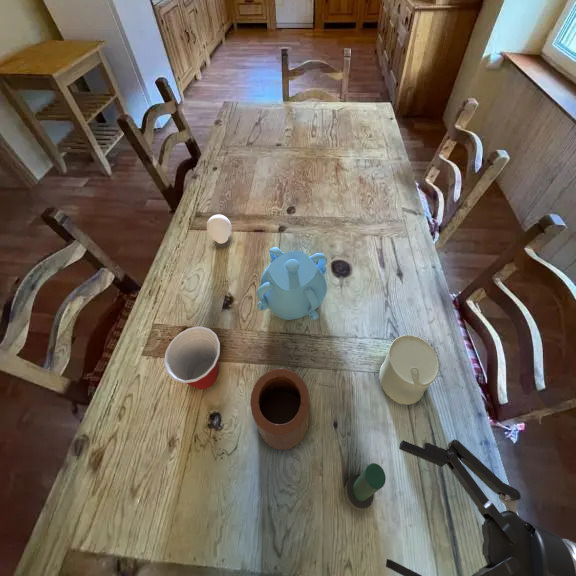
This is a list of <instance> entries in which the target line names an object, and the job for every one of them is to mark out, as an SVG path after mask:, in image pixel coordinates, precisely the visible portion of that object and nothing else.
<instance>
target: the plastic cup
mask: <svg viewBox="0 0 576 576" xmlns="http://www.w3.org/2000/svg"><path fill="white" fill-rule="evenodd" d="M220 351H221V344H220V339H219V338H218V335H217V334H216V332H214V331H213V330H212V329H210V328H208V327H205V326H201V325H199V326H192V327H189V328H187V329H185V330H182V331H181V332H179V333H178V334H177V335H176V336H175V337H174V338H173V339H172V340H171V341H170V342H169V345H168V346H167V348H166V350H165V352H164V360H163V365H164V370H165V372H166V374H167V375H168V376H169V378H171V379H172V381H175V382H179V383H181V384H186V385H189V387H190V386H191V387H193V388H195V389H198V390H205V389H208V388H210V387H212V386H213V385H214V384H215V383H216V381H217V379H218V377H219V358H220V354H221V353H220Z"/></svg>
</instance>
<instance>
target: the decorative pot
mask: <svg viewBox="0 0 576 576" xmlns="http://www.w3.org/2000/svg"><path fill="white" fill-rule="evenodd" d="M268 252H269V253H268V254H269V257H270V263H269V264H268V266H267V267H266V268H265V269H264V271H263V273H262V274H261V277H260V281H259V287H258V289H257V290H256V296H257V299H258V300H259V301H258V302H257V304H256V307H257V310H258V311H261V312H263V311H266V310H268V309H269V310H270V311H271V312H272V313H273V314H274V315H275V316H276V317H277V318H279V319H281V320H285V321H293V320H297V319H300V318H303V317H306V316H308V317H309V319H310V320H311V321H315V320H318V318H319V313H318V312H317V311H316V310H317V308H318V307H319V306H320V305H321V304H322V303H323V301H324V300H325V298H326V296H327V293H328V292H327V291H328V285H327V280H326V277H325V274H326V273H327V271H328V270H327V266H326V263H327V257H326V255H325V254H324V253H323V252H316V253H314V254H312V255H310V256H309V255H308V254H307V253H305V252H304V251H302V250H297V249H295V250H290V251H287V252H283V251H282V250H281V248H279V247H278V246H273V247H271V248H270V249H269V251H268ZM317 262H318V263H317Z"/></svg>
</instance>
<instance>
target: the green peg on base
mask: <svg viewBox="0 0 576 576" xmlns="http://www.w3.org/2000/svg"><path fill="white" fill-rule="evenodd" d="M385 485H386V472H385V471H384V469H383V467H382V466H381V465H380V464H378V463H376V462H371V463H368V464H367V466H366V467H365V468H364V470H363V471H362V472H361V473H358V472H357V473H354V474H352V475H351V476H350V477H349V478H348V480H347V481H346V482H345V485H344V491H343V493H344V495H343V496H344V499H345V502H346V504H347V505H348V506H349V508H351V509H352V510H353V511H356V512H362V511H364V510H366V509H368V508H369V507H370V506H371V505H372V504H373V501H374V497H375V494H376V493H377V492H378V491H379V490H381V489H382V488H383V487H385Z"/></svg>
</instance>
